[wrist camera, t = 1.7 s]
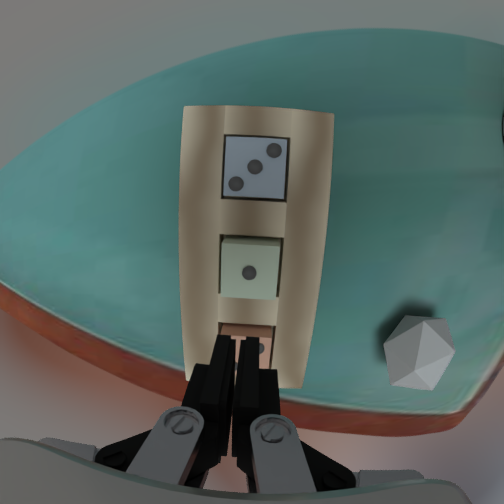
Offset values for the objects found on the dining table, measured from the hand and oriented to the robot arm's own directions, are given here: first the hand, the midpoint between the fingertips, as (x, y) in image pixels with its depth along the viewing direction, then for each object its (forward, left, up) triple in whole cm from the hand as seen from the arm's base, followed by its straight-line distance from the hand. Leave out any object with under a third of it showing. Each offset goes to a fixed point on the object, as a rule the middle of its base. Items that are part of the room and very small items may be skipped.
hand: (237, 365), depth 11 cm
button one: (0, 0, -15) cm, 15 cm away
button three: (0, -8, -15) cm, 17 cm away
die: (-19, +9, -17) cm, 27 cm away
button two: (0, +8, -15) cm, 17 cm away
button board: (0, 0, -17) cm, 17 cm away
